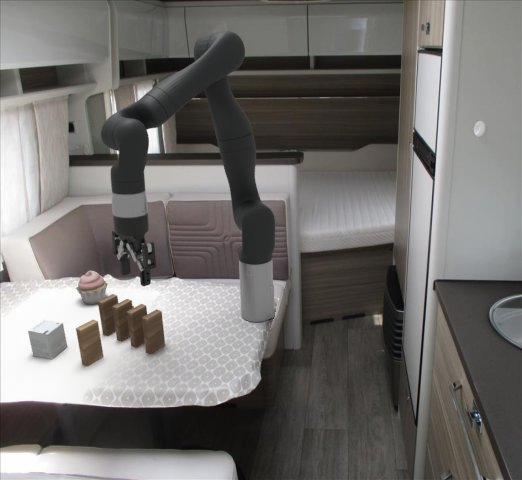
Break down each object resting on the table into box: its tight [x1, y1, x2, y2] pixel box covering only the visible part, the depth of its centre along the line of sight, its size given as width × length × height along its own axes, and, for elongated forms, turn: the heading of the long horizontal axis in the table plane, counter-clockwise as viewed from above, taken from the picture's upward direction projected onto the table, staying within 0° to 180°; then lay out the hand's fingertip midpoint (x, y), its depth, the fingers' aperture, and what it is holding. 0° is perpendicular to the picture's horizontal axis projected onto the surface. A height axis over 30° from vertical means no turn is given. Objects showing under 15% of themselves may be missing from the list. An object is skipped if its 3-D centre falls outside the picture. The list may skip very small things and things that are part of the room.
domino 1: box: [75, 319, 104, 367], centre depth 125 cm, size 2×5×10 cm, turn 145°
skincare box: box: [27, 319, 68, 360], centre depth 130 cm, size 6×6×7 cm
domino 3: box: [112, 298, 134, 343], centre depth 135 cm, size 2×5×10 cm, turn 145°
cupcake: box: [75, 270, 109, 305], centre depth 156 cm, size 9×9×10 cm
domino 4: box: [127, 303, 148, 349], centre depth 132 cm, size 2×5×10 cm, turn 145°
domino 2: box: [97, 293, 119, 337], centre depth 138 cm, size 2×5×10 cm, turn 145°
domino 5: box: [142, 309, 166, 356], centre depth 129 cm, size 2×5×10 cm, turn 145°
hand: (135, 279), depth 117 cm, fingers open, 8 cm apart
